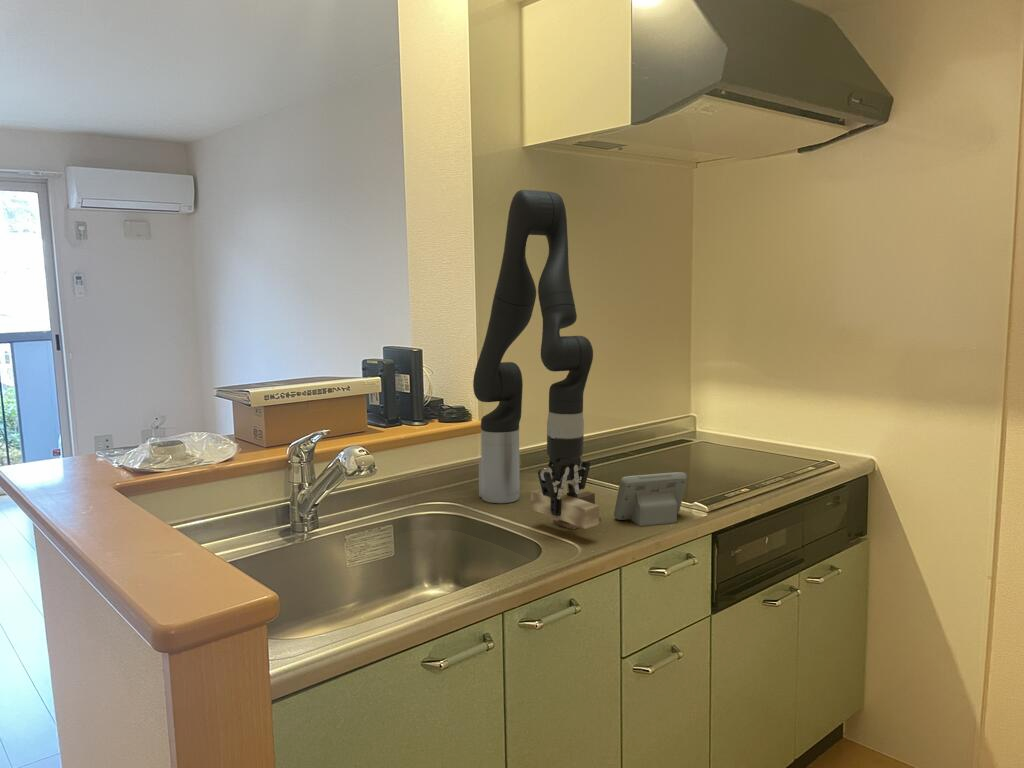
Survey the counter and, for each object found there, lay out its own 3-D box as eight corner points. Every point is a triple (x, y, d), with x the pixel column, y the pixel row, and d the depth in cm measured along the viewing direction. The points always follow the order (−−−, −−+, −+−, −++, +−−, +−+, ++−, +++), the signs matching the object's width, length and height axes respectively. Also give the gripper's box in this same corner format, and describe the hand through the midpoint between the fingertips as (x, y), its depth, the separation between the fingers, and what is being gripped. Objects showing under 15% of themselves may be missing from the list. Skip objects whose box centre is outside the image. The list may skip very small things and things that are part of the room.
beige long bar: (530, 509, 168) (530, 491, 167) (543, 505, 170) (544, 487, 170) (585, 528, 156) (585, 509, 155) (598, 524, 159) (599, 505, 158)
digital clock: (680, 512, 178) (681, 467, 177) (692, 525, 169) (693, 477, 168) (610, 514, 177) (610, 469, 175) (618, 527, 168) (619, 479, 166)
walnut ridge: (553, 523, 171) (553, 497, 170) (580, 514, 177) (580, 489, 176) (573, 529, 166) (573, 503, 165) (600, 520, 172) (601, 495, 172)
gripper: (575, 425, 168) (573, 501, 170) (527, 434, 158) (526, 515, 161) (601, 430, 162) (599, 509, 165) (554, 441, 153) (553, 525, 155)
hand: (563, 512), depth 163 cm, fingers closed on beige long bar, 4 cm apart
